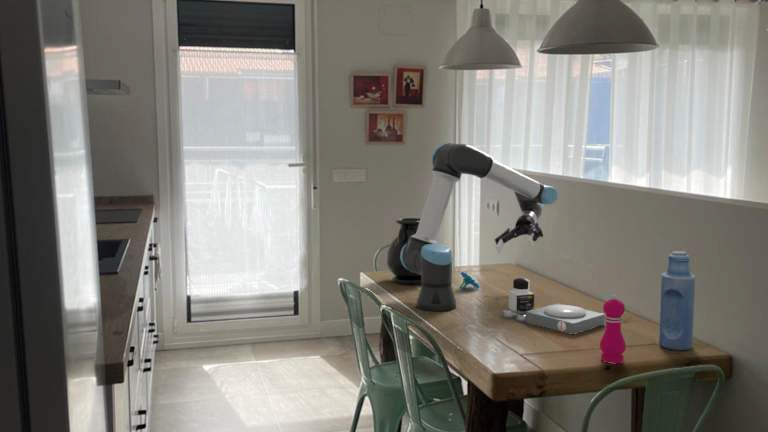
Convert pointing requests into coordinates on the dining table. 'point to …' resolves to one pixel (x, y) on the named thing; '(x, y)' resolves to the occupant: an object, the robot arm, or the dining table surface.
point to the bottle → (677, 303)
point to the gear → (468, 281)
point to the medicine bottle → (521, 296)
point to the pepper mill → (613, 331)
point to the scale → (565, 318)
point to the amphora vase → (393, 254)
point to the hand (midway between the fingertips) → (513, 246)
